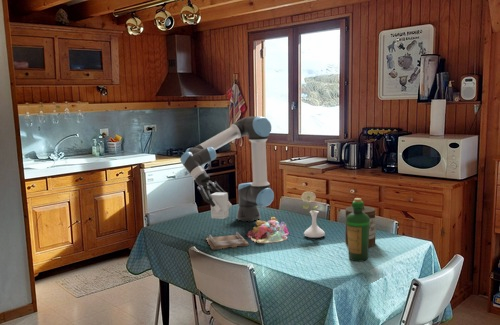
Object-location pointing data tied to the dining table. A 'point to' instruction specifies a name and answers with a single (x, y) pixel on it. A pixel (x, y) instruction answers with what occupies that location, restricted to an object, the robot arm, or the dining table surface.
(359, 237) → the bottle
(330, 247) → the dining table surface
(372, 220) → the wooden container
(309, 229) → the flower in vase
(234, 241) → the board
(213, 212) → the supplement box
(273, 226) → the candy landscape model
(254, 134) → the robot arm
